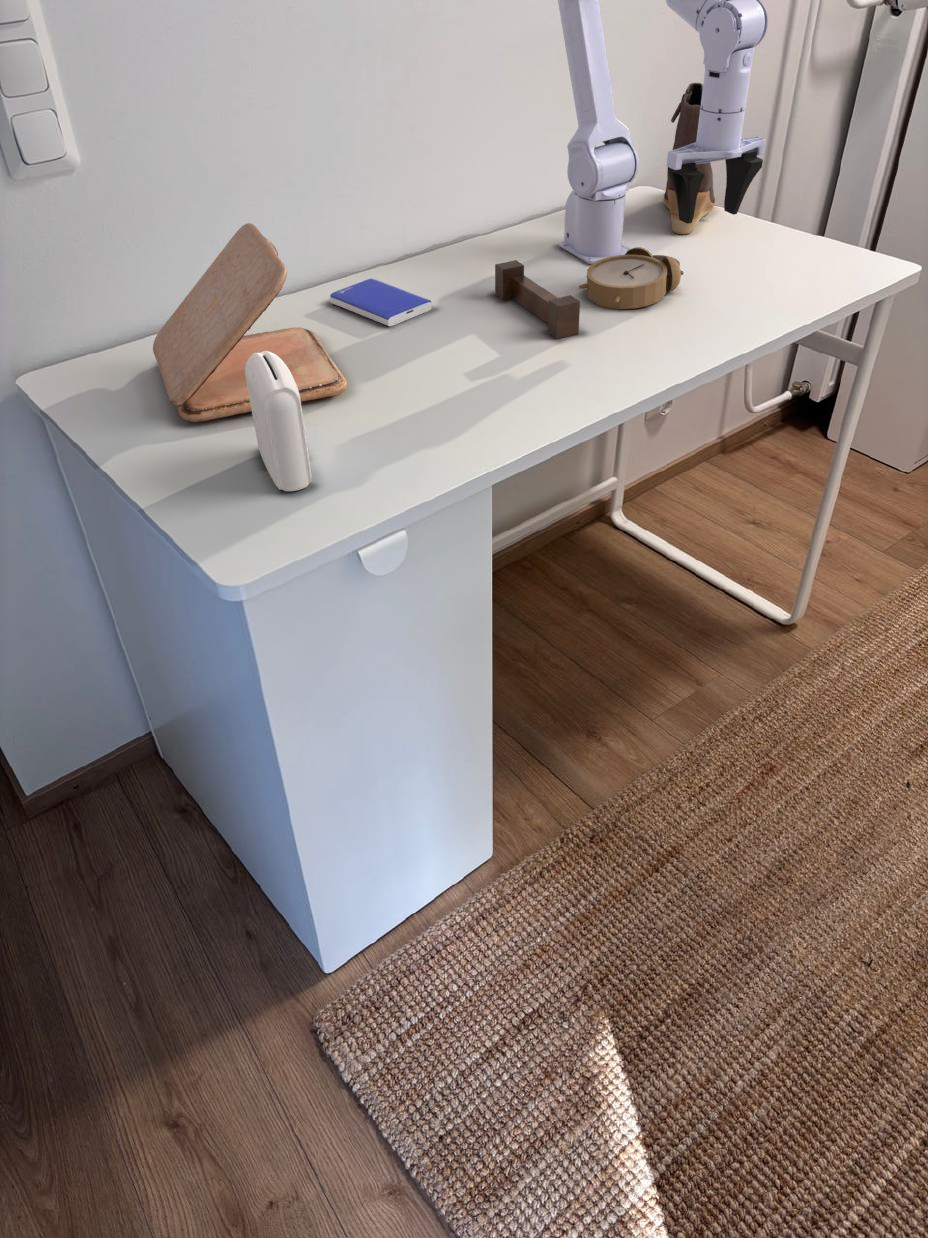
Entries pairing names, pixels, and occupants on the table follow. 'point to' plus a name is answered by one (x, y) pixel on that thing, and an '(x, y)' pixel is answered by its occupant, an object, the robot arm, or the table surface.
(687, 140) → the boot
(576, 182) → the robot arm
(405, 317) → the hard drive
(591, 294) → the alarm clock
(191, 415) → the case
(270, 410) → the photo printer
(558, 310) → the dumbbell
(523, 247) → the table surface
